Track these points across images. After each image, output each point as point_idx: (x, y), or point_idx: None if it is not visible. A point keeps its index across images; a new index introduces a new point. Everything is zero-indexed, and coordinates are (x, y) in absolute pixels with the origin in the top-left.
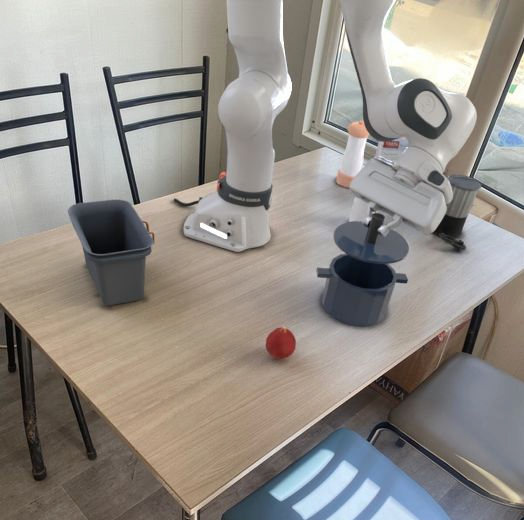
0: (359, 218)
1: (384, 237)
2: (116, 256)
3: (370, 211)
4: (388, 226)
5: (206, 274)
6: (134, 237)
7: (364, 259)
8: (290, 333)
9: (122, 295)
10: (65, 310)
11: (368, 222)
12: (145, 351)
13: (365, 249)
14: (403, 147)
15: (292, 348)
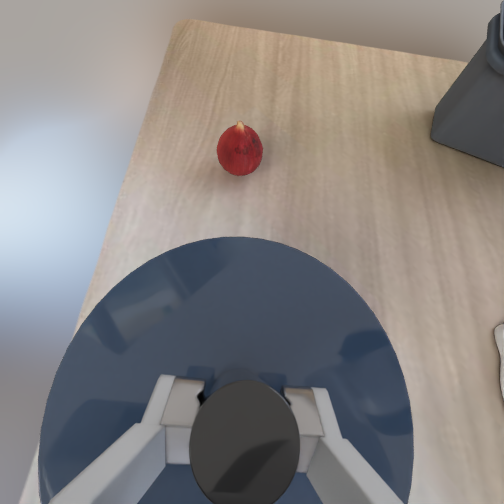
0: None
1: (205, 500)
2: (496, 25)
3: (351, 497)
4: (137, 425)
5: (449, 236)
6: None
7: (182, 246)
8: (231, 140)
9: (441, 110)
10: (447, 86)
11: (287, 397)
12: (346, 93)
13: (214, 304)
14: None
15: (217, 145)
